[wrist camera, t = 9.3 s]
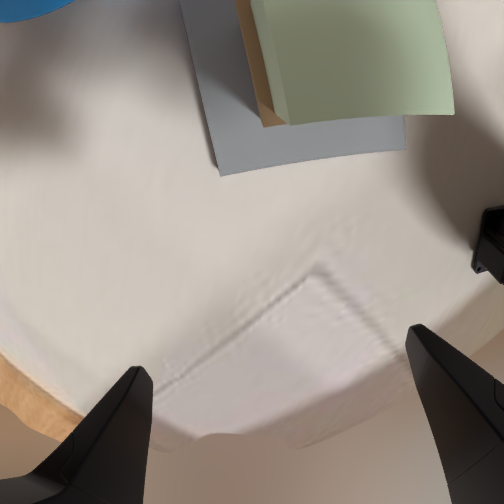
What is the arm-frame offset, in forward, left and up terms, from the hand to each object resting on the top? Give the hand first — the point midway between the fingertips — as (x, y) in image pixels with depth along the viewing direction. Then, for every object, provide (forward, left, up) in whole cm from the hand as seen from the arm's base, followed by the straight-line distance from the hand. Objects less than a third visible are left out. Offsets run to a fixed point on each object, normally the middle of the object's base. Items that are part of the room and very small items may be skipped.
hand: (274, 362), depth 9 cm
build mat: (-4, -9, -12) cm, 16 cm away
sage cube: (-4, -9, -6) cm, 12 cm away
